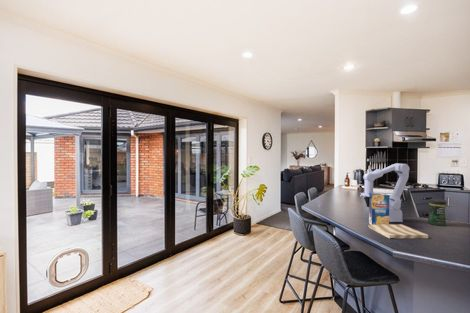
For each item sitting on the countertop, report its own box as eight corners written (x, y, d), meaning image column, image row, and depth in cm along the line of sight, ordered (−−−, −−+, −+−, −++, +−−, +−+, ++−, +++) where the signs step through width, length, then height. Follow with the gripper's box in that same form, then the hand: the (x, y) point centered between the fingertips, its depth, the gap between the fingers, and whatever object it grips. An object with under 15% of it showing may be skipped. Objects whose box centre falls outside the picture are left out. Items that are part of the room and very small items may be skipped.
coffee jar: (432, 225, 171) (433, 199, 171) (426, 222, 179) (426, 197, 179) (448, 226, 169) (448, 200, 169) (440, 223, 177) (441, 198, 177)
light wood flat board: (402, 227, 166) (402, 224, 166) (428, 238, 145) (428, 235, 145) (368, 227, 165) (368, 224, 165) (389, 238, 144) (389, 235, 144)
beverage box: (389, 226, 168) (389, 195, 167) (371, 225, 170) (372, 194, 170) (385, 223, 174) (386, 193, 174) (368, 222, 177) (369, 192, 177)
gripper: (358, 187, 190) (358, 204, 190) (369, 190, 175) (369, 209, 175) (367, 187, 190) (367, 204, 190) (378, 190, 175) (378, 209, 176)
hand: (368, 206), depth 183 cm, fingers closed
